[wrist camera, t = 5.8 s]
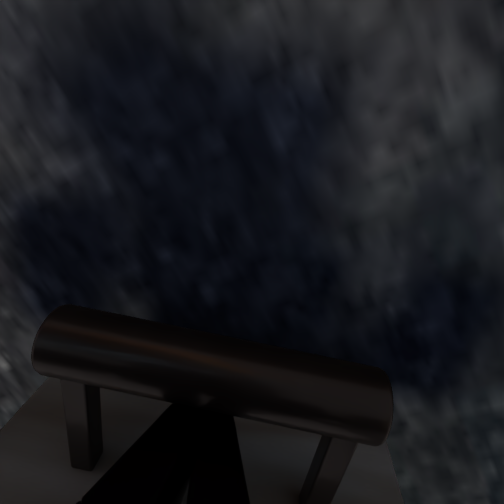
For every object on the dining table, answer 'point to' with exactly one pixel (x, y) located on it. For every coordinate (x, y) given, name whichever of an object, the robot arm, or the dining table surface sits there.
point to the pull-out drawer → (202, 397)
